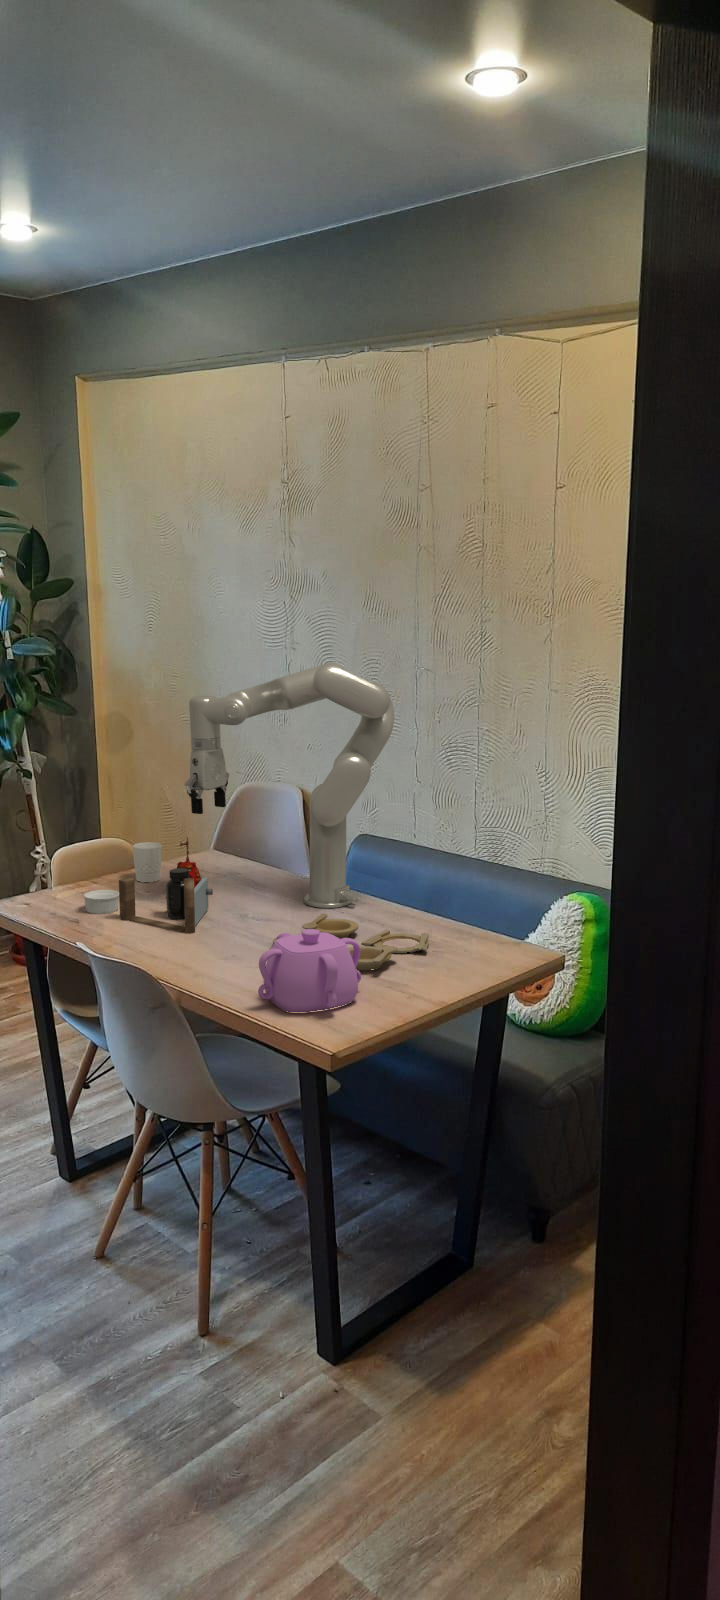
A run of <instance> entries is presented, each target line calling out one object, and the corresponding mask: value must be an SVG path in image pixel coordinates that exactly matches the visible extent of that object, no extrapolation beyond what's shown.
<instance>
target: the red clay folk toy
mask: <svg viewBox="0 0 720 1600" xmlns="http://www.w3.org/2000/svg"><path fill="white" fill-rule="evenodd" d="M189 843H190V841H189V837H186V842H185V843H183V842H179V844H180V845H179V847H183V846H185V848H186V857H185V861H179V862H178V863H177V865H176V866H177V867H176V868H175V869H177V868H185V869H188V870H189V878H193V879H194V888H195V887H196V886H197V884H198V883H199V882H200V881H201V880H202V876H201V874H200V870H199V869H198V867H197V863H196V862H195V861H190V856H189V854H190V851H189Z"/></svg>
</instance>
